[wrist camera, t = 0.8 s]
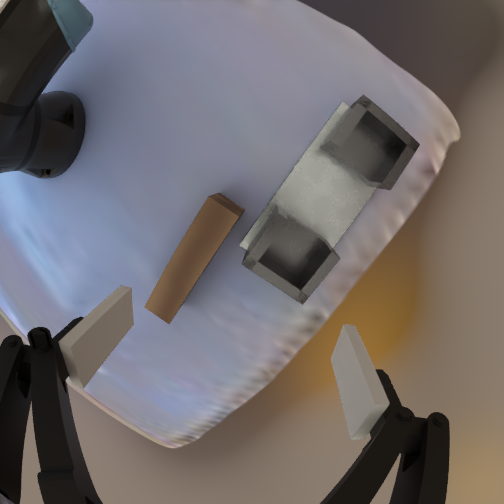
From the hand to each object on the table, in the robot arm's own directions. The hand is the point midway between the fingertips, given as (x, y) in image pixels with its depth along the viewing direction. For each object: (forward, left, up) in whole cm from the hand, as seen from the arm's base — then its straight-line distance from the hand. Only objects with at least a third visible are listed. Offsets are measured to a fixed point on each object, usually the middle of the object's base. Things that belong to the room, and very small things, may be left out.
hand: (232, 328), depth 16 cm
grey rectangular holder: (+3, +10, -21) cm, 24 cm away
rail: (-6, -6, -21) cm, 23 cm away
